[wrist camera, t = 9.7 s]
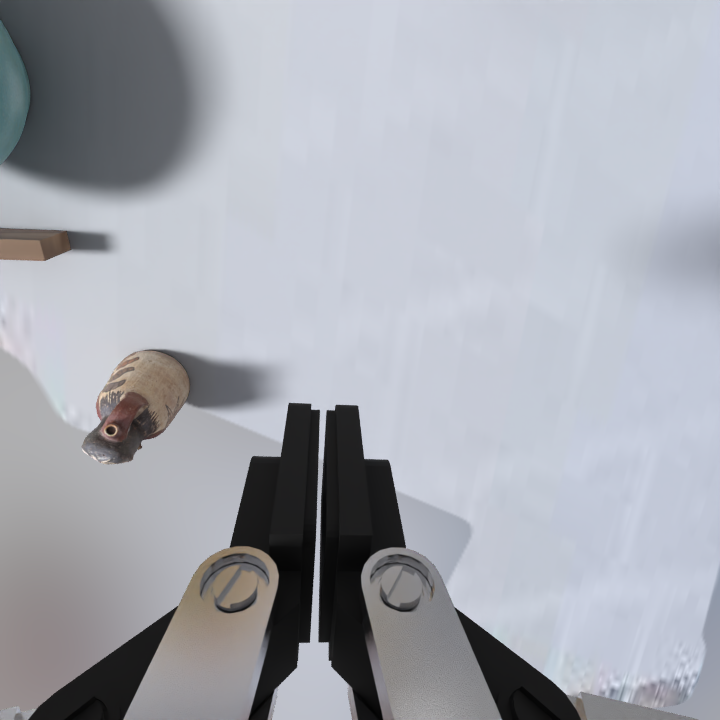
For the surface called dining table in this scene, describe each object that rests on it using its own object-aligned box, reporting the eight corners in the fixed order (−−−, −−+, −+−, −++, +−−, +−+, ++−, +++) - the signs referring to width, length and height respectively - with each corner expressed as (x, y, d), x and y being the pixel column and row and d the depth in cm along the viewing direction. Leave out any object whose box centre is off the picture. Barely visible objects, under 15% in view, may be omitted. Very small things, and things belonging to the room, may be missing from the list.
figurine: (106, 388, 45) (38, 466, 34) (135, 335, 43) (71, 401, 32) (172, 420, 47) (127, 503, 37) (203, 371, 45) (164, 444, 34)
